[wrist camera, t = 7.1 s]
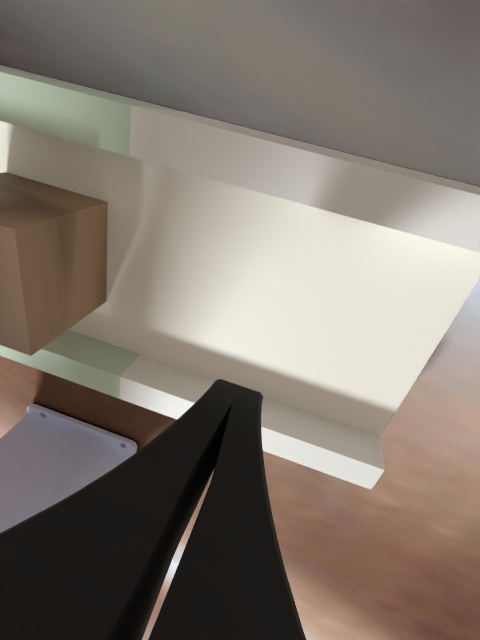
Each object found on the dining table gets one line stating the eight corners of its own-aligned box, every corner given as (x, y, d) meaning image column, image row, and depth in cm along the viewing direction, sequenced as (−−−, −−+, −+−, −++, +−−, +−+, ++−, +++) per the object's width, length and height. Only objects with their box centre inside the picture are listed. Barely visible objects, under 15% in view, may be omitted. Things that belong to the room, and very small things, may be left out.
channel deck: (-91, 261, 24) (-183, 289, 20) (-164, 23, 17) (-327, -13, 13) (364, 415, 20) (371, 489, 16) (492, 190, 14) (559, 215, 10)
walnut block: (19, 272, 18) (-80, 316, 14) (6, 172, 16) (-121, 187, 11) (106, 301, 18) (31, 356, 13) (107, 202, 15) (14, 229, 11)
